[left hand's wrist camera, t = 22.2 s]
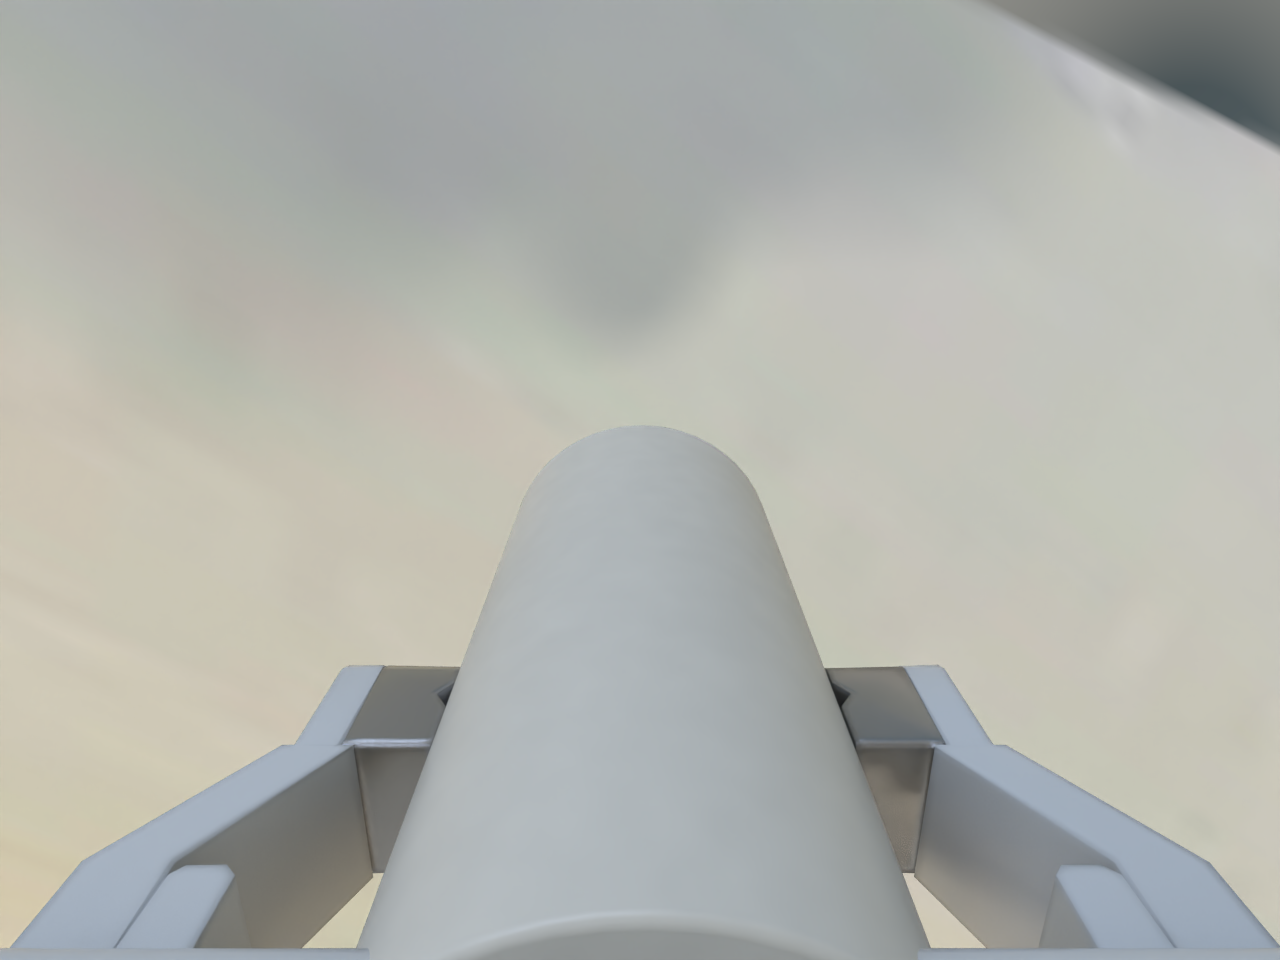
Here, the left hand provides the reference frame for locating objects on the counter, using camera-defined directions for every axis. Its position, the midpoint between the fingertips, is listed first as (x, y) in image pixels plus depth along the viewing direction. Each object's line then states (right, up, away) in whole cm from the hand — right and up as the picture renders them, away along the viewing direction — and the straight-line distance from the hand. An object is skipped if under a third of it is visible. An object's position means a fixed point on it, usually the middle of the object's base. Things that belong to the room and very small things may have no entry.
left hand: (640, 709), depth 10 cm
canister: (0, +2, +4) cm, 4 cm away
